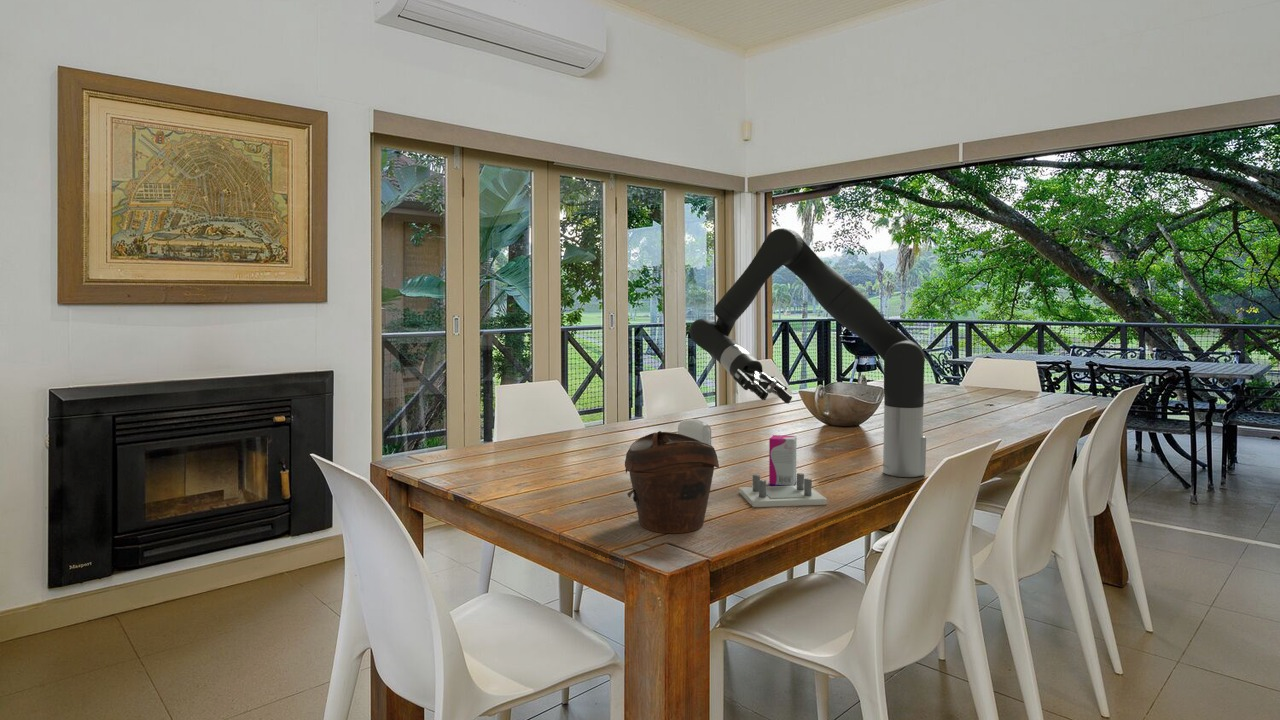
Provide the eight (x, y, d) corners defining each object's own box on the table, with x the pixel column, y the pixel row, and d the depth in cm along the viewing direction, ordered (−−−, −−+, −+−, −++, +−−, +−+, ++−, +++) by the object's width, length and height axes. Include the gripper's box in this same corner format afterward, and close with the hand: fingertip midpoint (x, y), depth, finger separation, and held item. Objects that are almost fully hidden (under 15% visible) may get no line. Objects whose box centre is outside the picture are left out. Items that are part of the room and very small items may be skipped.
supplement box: (796, 482, 173) (797, 435, 172) (793, 488, 168) (794, 439, 167) (772, 480, 175) (772, 434, 174) (768, 486, 169) (769, 438, 169)
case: (658, 503, 155) (657, 421, 153) (738, 521, 142) (738, 431, 140) (601, 525, 141) (600, 434, 139) (685, 547, 128) (684, 447, 127)
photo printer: (675, 463, 195) (675, 418, 194) (687, 461, 198) (687, 416, 197) (702, 470, 187) (702, 422, 186) (714, 467, 190) (714, 420, 189)
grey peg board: (807, 490, 166) (808, 470, 165) (826, 504, 154) (827, 482, 154) (739, 492, 164) (739, 472, 164) (753, 507, 152) (753, 485, 152)
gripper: (727, 348, 183) (764, 382, 171) (766, 356, 192) (804, 389, 180) (714, 373, 186) (750, 408, 174) (753, 379, 194) (790, 414, 182)
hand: (778, 398), depth 177 cm, fingers open, 8 cm apart
